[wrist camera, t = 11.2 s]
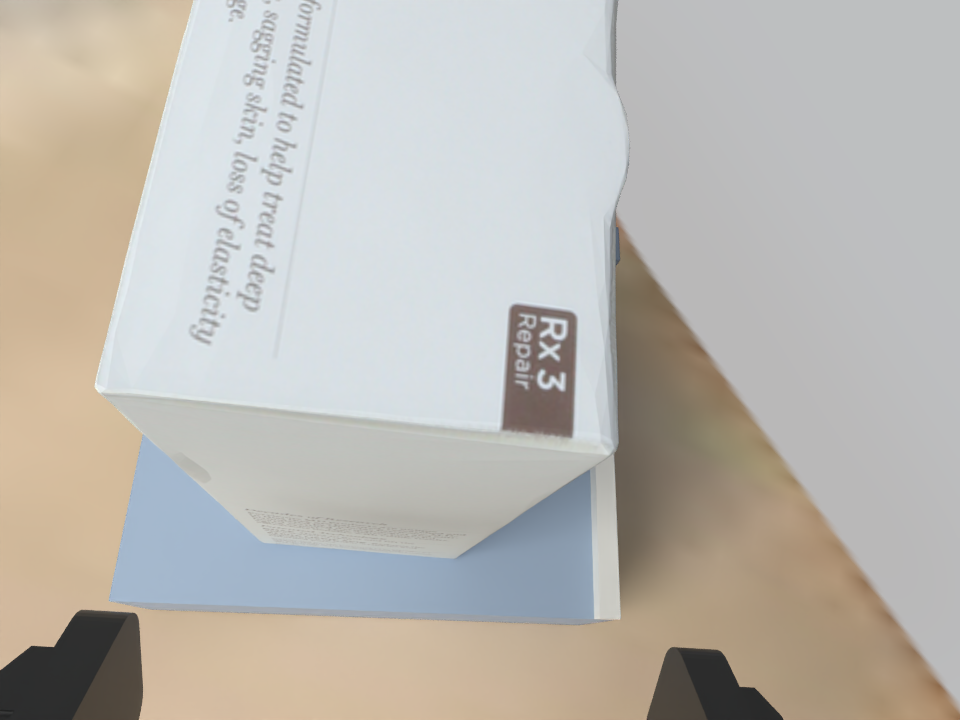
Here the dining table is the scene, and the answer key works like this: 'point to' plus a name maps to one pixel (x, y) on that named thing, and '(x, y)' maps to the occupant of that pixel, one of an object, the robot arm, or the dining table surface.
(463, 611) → the tray
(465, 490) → the skincare box
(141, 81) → the dining table surface
